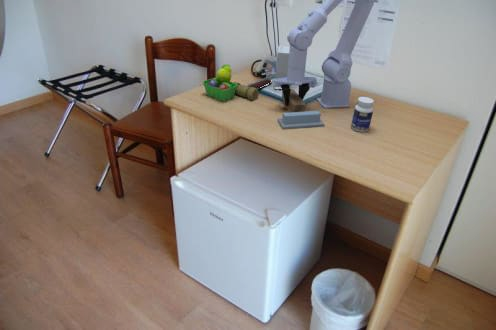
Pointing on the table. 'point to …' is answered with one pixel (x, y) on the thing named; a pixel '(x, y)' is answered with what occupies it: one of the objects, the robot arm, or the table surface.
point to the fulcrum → (301, 120)
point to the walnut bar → (294, 102)
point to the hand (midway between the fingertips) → (292, 104)
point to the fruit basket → (221, 85)
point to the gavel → (250, 89)
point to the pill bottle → (362, 114)
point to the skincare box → (282, 62)
